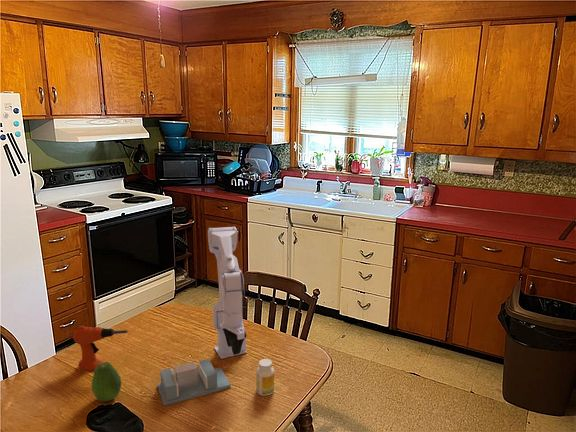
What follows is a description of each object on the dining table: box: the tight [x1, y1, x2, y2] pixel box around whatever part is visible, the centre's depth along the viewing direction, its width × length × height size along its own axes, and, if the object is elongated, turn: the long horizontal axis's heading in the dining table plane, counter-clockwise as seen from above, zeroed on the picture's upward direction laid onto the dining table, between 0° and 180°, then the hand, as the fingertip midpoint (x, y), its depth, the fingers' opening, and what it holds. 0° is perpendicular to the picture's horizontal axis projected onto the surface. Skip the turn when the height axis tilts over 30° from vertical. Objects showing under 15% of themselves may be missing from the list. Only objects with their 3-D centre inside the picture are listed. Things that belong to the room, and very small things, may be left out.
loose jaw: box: [197, 358, 217, 389], centre depth 134 cm, size 3×9×4 cm, turn 26°
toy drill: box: [72, 325, 128, 372], centre depth 141 cm, size 5×19×15 cm, turn 85°
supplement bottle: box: [255, 358, 275, 396], centre depth 131 cm, size 5×5×10 cm
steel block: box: [173, 361, 198, 392], centre depth 131 cm, size 6×4×6 cm, turn 116°
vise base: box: [157, 367, 232, 407], centre depth 132 cm, size 20×10×6 cm, turn 116°
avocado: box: [91, 361, 122, 402], centre depth 126 cm, size 8×8×12 cm
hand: (233, 349), depth 136 cm, fingers open, 4 cm apart
